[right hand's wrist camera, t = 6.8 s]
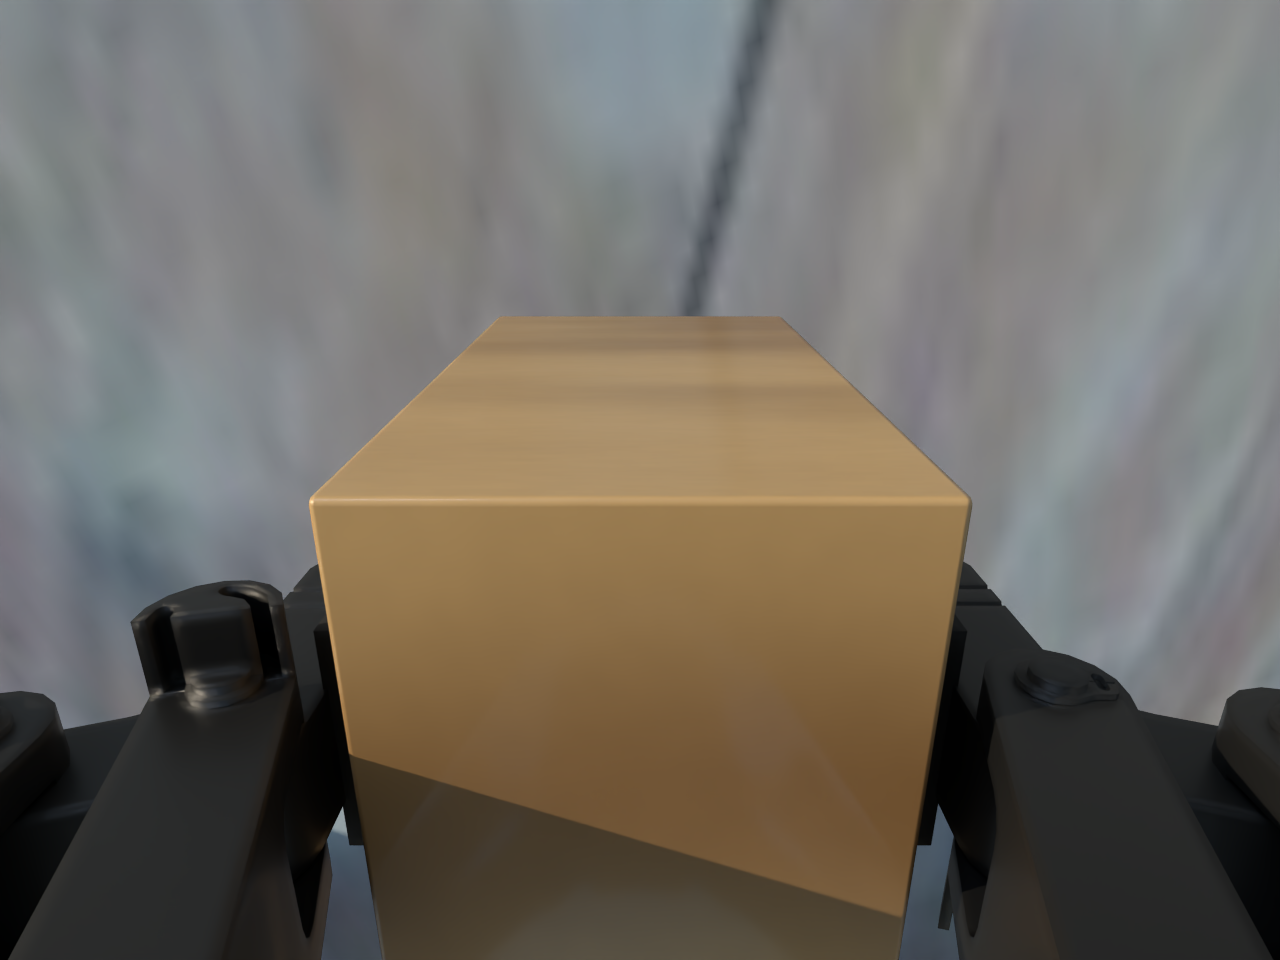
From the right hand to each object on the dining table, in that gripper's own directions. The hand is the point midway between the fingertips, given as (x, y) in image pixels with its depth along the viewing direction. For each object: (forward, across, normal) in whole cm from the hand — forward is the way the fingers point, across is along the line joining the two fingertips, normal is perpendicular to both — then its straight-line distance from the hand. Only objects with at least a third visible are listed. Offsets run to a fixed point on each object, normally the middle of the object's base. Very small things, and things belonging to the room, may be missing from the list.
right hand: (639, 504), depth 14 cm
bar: (+1, 0, -8) cm, 8 cm away
